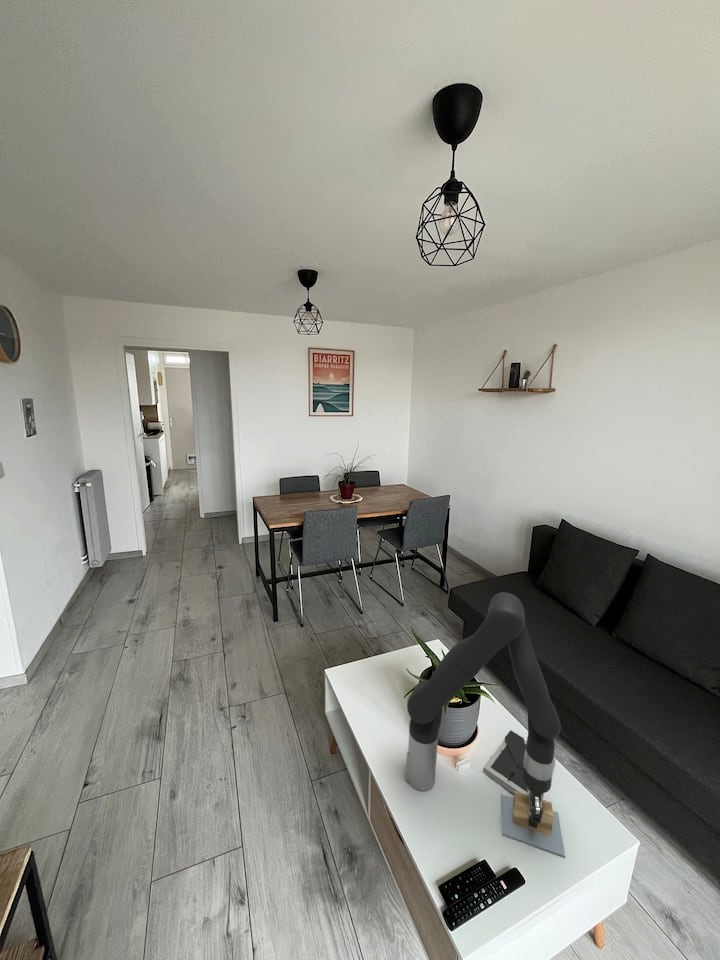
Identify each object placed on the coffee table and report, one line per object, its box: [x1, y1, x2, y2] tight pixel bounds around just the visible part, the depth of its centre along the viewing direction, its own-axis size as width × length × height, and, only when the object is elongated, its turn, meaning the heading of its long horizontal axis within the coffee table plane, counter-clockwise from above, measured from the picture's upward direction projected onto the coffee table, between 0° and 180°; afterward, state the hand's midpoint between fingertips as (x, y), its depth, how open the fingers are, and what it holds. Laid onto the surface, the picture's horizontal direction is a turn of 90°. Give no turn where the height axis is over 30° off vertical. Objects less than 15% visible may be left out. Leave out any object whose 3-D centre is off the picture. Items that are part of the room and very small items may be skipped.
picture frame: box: [482, 729, 556, 795], centre depth 126 cm, size 16×3×21 cm
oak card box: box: [512, 791, 554, 837], centre depth 109 cm, size 4×10×7 cm, turn 71°
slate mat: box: [500, 794, 566, 858], centre depth 109 cm, size 16×12×1 cm
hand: (531, 816), depth 109 cm, fingers open, 4 cm apart
